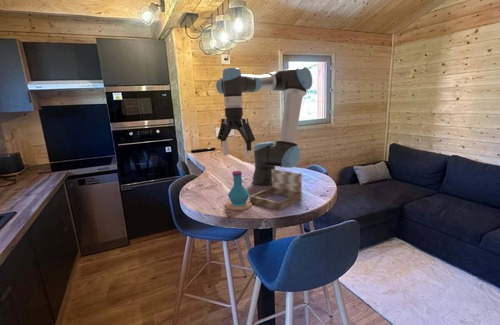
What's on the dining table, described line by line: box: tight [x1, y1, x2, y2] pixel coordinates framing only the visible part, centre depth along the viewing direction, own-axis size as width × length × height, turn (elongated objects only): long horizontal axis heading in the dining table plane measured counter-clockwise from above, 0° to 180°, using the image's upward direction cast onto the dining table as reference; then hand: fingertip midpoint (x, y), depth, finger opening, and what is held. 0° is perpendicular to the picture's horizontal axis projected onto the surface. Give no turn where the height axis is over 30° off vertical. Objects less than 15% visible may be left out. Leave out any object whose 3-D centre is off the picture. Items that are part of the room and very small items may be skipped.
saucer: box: [225, 199, 253, 212], centre depth 123 cm, size 12×12×1 cm
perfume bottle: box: [227, 170, 250, 206], centre depth 121 cm, size 9×9×15 cm
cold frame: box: [249, 168, 303, 211], centre depth 126 cm, size 17×18×12 cm
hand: (236, 156), depth 118 cm, fingers open, 13 cm apart
